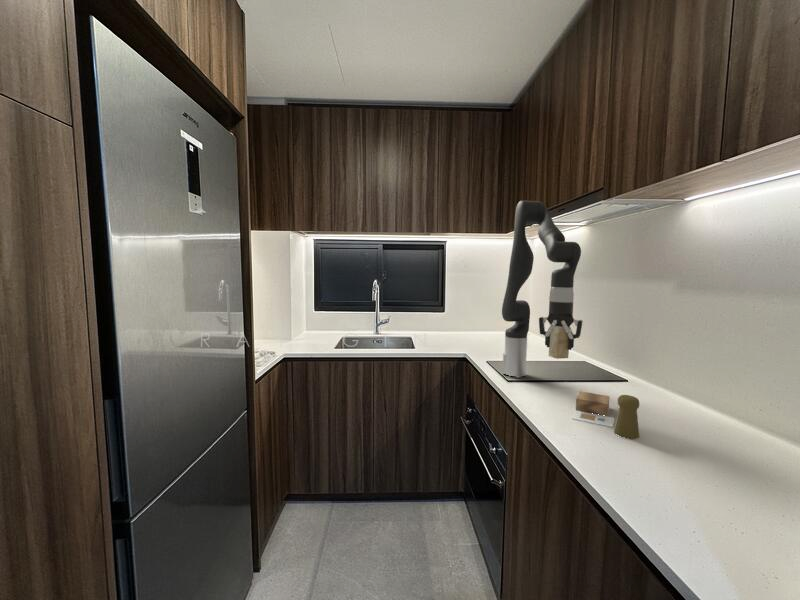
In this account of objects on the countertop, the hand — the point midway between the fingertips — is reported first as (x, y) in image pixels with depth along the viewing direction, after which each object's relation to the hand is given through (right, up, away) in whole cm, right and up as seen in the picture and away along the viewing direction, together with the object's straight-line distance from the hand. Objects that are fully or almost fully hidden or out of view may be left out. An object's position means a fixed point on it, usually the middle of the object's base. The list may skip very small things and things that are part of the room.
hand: (558, 348), depth 125 cm
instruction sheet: (+5, -20, -13) cm, 25 cm away
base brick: (+9, -20, -5) cm, 22 cm away
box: (0, -3, 0) cm, 3 cm away
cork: (+9, -21, -23) cm, 33 cm away
